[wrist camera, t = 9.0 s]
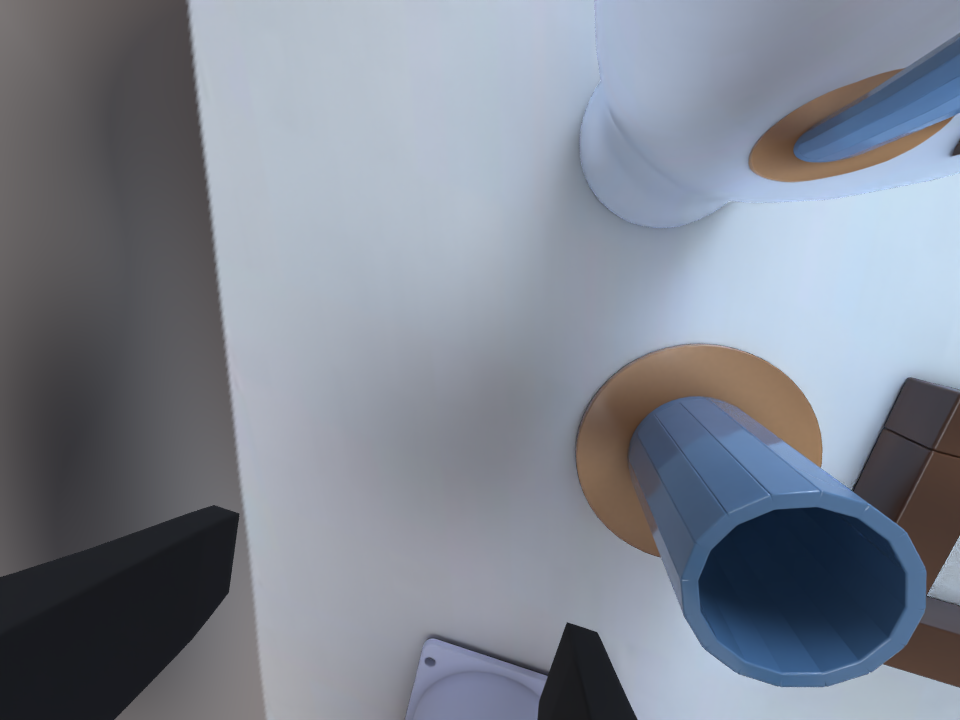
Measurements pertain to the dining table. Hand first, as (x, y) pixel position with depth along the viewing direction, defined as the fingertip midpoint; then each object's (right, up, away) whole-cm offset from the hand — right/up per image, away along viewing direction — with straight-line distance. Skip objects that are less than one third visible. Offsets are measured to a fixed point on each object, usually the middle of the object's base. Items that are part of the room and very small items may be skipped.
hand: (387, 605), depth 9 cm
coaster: (+10, +1, +8) cm, 13 cm away
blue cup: (+10, +1, +8) cm, 13 cm away
